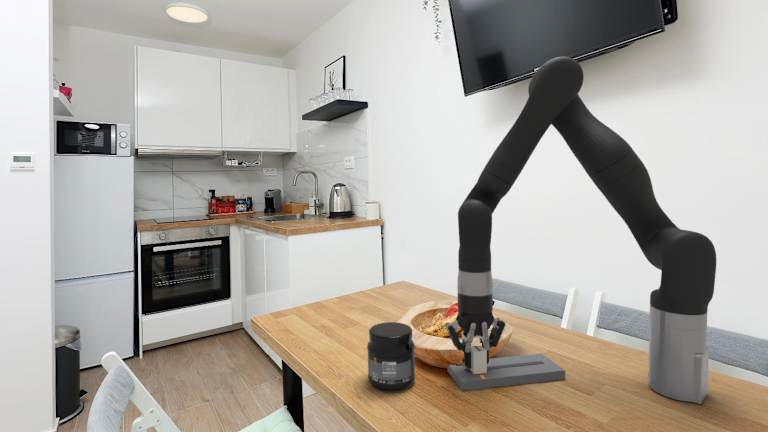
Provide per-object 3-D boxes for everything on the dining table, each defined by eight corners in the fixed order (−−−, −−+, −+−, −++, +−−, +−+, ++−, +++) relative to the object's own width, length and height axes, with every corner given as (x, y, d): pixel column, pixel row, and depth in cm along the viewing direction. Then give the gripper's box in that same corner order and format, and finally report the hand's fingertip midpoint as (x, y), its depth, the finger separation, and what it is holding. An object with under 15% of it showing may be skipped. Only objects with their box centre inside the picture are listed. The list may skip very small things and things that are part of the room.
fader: (477, 362, 87) (477, 341, 87) (486, 372, 82) (486, 350, 82) (465, 364, 87) (464, 342, 86) (473, 374, 82) (473, 351, 81)
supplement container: (398, 366, 91) (397, 318, 90) (425, 385, 82) (424, 331, 81) (359, 378, 86) (358, 327, 85) (383, 400, 77) (382, 342, 76)
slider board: (541, 361, 92) (541, 352, 92) (565, 379, 83) (565, 369, 83) (447, 371, 88) (447, 362, 88) (461, 391, 79) (461, 381, 79)
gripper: (496, 283, 88) (497, 355, 89) (439, 287, 86) (440, 361, 87) (513, 292, 81) (513, 370, 82) (450, 296, 78) (451, 377, 80)
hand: (475, 365), depth 84 cm, fingers closed on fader, 3 cm apart
